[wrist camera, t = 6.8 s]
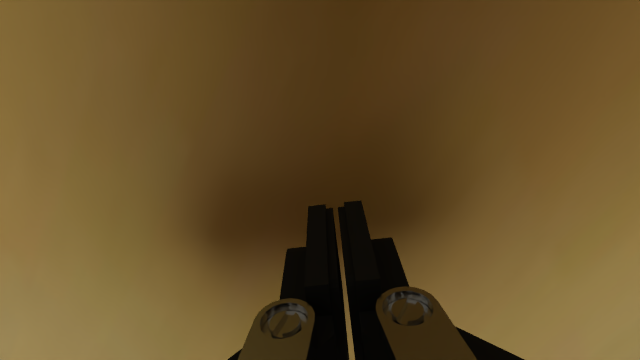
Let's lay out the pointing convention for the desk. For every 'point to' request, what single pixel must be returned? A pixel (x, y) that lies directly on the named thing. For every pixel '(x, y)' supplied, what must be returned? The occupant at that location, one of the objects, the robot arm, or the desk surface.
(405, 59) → the desk surface
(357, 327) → the robot arm
